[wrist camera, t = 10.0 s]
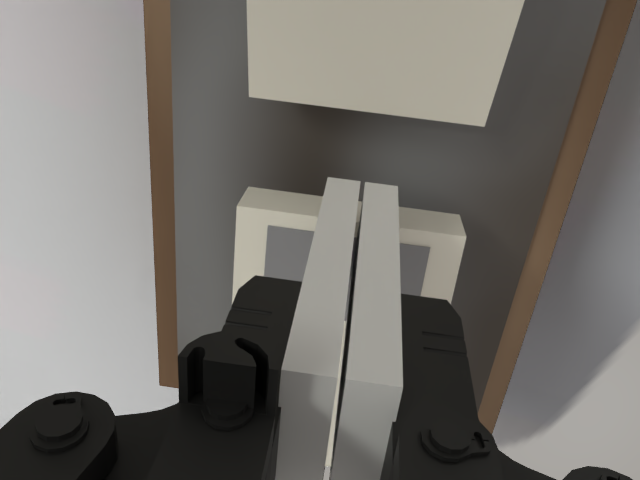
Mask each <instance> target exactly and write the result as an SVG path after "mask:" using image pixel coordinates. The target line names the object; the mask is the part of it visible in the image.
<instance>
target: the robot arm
mask: <svg viewBox="0 0 640 480" xmlns="http://www.w3.org/2000/svg"><path fill="white" fill-rule="evenodd" d="M360 182H361V181H355V180H347V179H339V178H332V177H328V178H327V182H326V186H325V191H324V195H323V199H322V203H321V207H320V211H319V215H318V220H317V224H316V228H315V232H314V236H313V240H312V244H311V248H310V253H309V257H308V261H307V265H306V269H305V273H304V277H303V282H300V281H293V280H286V279H279V278H271V277H264V276H257V275H255V276H254V277H253V278H251V279H250V280H249V281H248V282H246V283H245V284H244V285H243V286H241V287H240V288H239V289H238V291H237V294H236V296H235V299H234V301H233V304H232V306H231V310H230V311H229V313H228V316H227V318H226V321H225V325H224V326H223V328H222V331H219V332H215V333H211V334H207V335H203V336H201V337H199V338H197V339H195V340H194V341H192V342H190V343H188V344H187V345H186V346H185V348H184V349H183V350H182V351H181V353H180V354H179V355H178V382H179V403H177V404H175V405H172V406H170V407H167V408H165V409H162V410H157V411H152V412H147V413H138V414H129V415H120V416H115V415H114V413H113V411H112V409H111V408H110V406H109V404H108V403H107V402H105V401H104V400H102V399H100V398H99V397H97V396H95V395H92V394H87V393H81V392H68V393H59V394H54V395H51V396H48V397H46V398H43V399H40V400H37V401H35V402H34V403H32V404H31V405H29V406H28V407H26V408H25V409H23V410H22V411H20V412H19V413H18V414H16V415H15V416H14V417H13V418H12V419H11V420H10V421H9V422H8V423H7V424H5V425H4V426H3V427H2V428H1V429H0V480H323V476H324V470H325V463H326V456H327V449H328V442H329V435H330V428H331V421H332V414H333V407H334V400H335V393H336V386H337V379H338V371H339V363H340V354H341V345H342V337H343V328H344V319H345V311H346V302H347V294H348V285H349V276H350V268H351V259H352V251H353V242H354V233H355V225H356V216H357V207H358V199H359V190H360ZM329 480H556V479H553V478H551V477H549V476H546V475H544V474H542V473H539V472H537V471H534V470H532V469H530V468H527V467H525V466H523V465H521V464H519V463H517V462H515V461H513V460H512V459H510V458H509V457H508V456H506V455H505V454H504V453H502V452H501V451H499V450H498V448H497V445H496V443H495V441H494V438H493V436H492V434H491V433H490V432H489V431H488V430H487V429H486V428H485V427H484V425H483V424H482V423H481V422H480V421H479V418H478V413H477V407H476V402H475V396H474V390H473V384H472V378H471V373H470V367H469V361H468V357H467V350H466V344H465V341H464V332H463V326H462V321H461V317H460V316H459V315H458V313H457V312H456V311H455V309H454V308H453V307H452V306H451V304H450V303H449V302H448V300H444V299H437V298H430V297H423V296H415V295H408V294H401V283H400V244H399V205H398V186H393V185H386V184H378V183H370V182H365V186H364V193H363V200H362V207H361V214H360V221H359V228H358V235H357V242H356V249H355V256H354V263H353V270H352V276H351V284H350V293H349V303H348V312H347V321H346V330H345V339H344V349H343V358H342V367H341V376H340V385H339V394H338V404H337V413H336V422H335V431H334V440H333V450H332V459H331V468H330V477H329ZM563 480H632V479H631V478H630V477H627V476H625V475H623V474H620V473H618V472H615V471H613V470H610V469H608V468H599V467H591V466H587V467H583V468H579V469H575V470H572V471H571V472H570V473H569V474H568V475H567V476H566V477H565V478H564V479H563Z"/></svg>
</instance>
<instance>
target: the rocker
mask: <svg viewBox="0 0 640 480" xmlns="http://www.w3.org/2000/svg"><path fill="white" fill-rule="evenodd" d="M322 199H323V196H316V195H308V194H301V193H293V192H286V191H278V190H271V189H263V188H256V187H248V188H247V190H246V191H245V193H244V195H243V196H242V198H241V200H240V201H239V203H238V205H237V210H236V231H235V252H234V272H233V293H232V304H233V301H234V299H235V296H236V294H237V291H238V289H239V288H240V287H241V286H243V285H244V284H245V283H246V282H248V281H249V280H250V279H251V278H253V277H254V276H255V275H257V276H264V277H271V278H279V279H286V280H293V281H300V282H303V277H304V273H305V269H306V265H307V261H308V257H309V253H310V248H311V244H312V240H313V236H314V232H315V228H316V224H317V220H318V215H319V211H320V207H321V203H322ZM361 207H362V202H361V201H358V207H357V216H356V225H355V233H354V242H353V251H352V259H351V268H350V276H349V285H348V294H347V302H346V311H345V319H344V328H343V337H342V345H341V354H340V363H339V371H338V379H337V386H336V393H335V400H334V407H333V414H332V421H331V428H330V435H329V442H328V449H327V456H326V463H325V466H328V467H331V459H332V450H333V440H334V431H335V422H336V413H337V404H338V394H339V385H340V376H341V367H342V358H343V349H344V339H345V330H346V321H347V312H348V303H349V293H350V284H351V276H352V270H353V263H354V256H355V249H356V242H357V235H358V228H359V221H360V214H361ZM465 241H466V233H465V230H464V227H463V224H462V221H461V218H460V215H459V214H451V213H444V212H436V211H428V210H421V209H413V208H406V207H399V244H400V283H401V294H408V295H415V296H423V297H430V298H437V299H444V300H448V302H449V303H450V304H451V301H452V297H453V293H454V288H455V284H456V280H457V276H458V271H459V267H460V263H461V258H462V254H463V250H464V246H465Z"/></svg>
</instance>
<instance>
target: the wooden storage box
mask: <svg viewBox="0 0 640 480" xmlns="http://www.w3.org/2000/svg"><path fill="white" fill-rule="evenodd" d="M636 3H637V0H525V1H524V4H523V7H522V10H521V13H520V17H519V20H518V23H517V26H516V29H515V32H514V36H513V39H512V42H511V45H510V48H509V51H508V54H507V58H506V61H505V64H504V67H503V70H502V73H501V76H500V80H499V83H498V86H497V89H496V92H495V95H494V98H493V102H492V105H491V108H490V111H489V114H488V117H487V120H486V124H485V127H482V126H474V125H466V124H458V123H450V122H443V121H435V120H427V119H419V118H411V117H403V116H395V115H387V114H379V113H372V112H364V111H356V110H348V109H340V108H332V107H324V106H316V105H308V104H301V103H293V102H285V101H277V100H269V99H261V98H253V97H249V82H248V40H247V0H143V4H144V28H145V52H146V75H147V99H148V123H149V146H150V170H151V194H152V217H153V241H154V265H155V288H156V312H157V336H158V359H159V383H160V386H167V387H173V388H179V382H178V355H179V354H180V353H181V351H182V350H183V349H184V348H185V346H186V345H187V344H188V343H190V342H192V341H194V340H195V339H197V338H199V337H201V336H203V335H207V334H211V333H215V332H219V331H222V328H223V326H224V325H225V321H226V318H227V316H228V313H229V311H230V310H231V306H232V293H233V272H234V252H235V231H236V210H237V205H238V203H239V201H240V200H241V198H242V196H243V195H244V193H245V191H246V190H247V188H248V187H256V188H263V189H271V190H278V191H286V192H293V193H301V194H308V195H316V196H323V195H324V191H325V186H326V182H327V178H328V177H332V178H339V179H347V180H355V181H361V182H360V190H359V199H358V201H361V202H362V200H363V193H364V186H365V182H370V183H378V184H386V185H393V186H398V205H399V207H406V208H413V209H421V210H428V211H436V212H444V213H451V214H459V215H460V218H461V221H462V224H463V227H464V230H465V233H466V241H465V246H464V250H463V254H462V258H461V263H460V267H459V271H458V276H457V280H456V284H455V288H454V293H453V297H452V301H451V306H452V307H453V308H454V309H455V311H456V312H457V313H458V315H459V316H460V317H461V321H462V326H463V332H464V341H465V344H466V350H467V357H468V361H469V367H470V373H471V378H472V384H473V390H474V396H475V402H476V407H477V413H478V418H479V421H480V422H481V423H482V424H483V425H484V427H485V428H486V429H487V430H488V431H489V432H490V433H491V434H492V433H493V430H494V427H495V424H496V421H497V418H498V415H499V412H500V409H501V406H502V403H503V400H504V397H505V394H506V391H507V388H508V385H509V382H510V379H511V376H512V373H513V370H514V367H515V364H516V361H517V358H518V355H519V352H520V349H521V346H522V343H523V340H524V337H525V334H526V331H527V328H528V325H529V322H530V319H531V316H532V313H533V310H534V307H535V304H536V301H537V298H538V295H539V292H540V289H541V286H542V283H543V280H544V277H545V274H546V271H547V268H548V265H549V262H550V259H551V256H552V253H553V250H554V247H555V244H556V241H557V238H558V235H559V232H560V230H561V227H562V224H563V221H564V218H565V215H566V212H567V209H568V206H569V203H570V200H571V197H572V194H573V191H574V188H575V185H576V182H577V179H578V176H579V173H580V170H581V167H582V164H583V161H584V158H585V155H586V152H587V149H588V146H589V143H590V140H591V137H592V134H593V131H594V128H595V125H596V122H597V119H598V116H599V113H600V110H601V107H602V104H603V101H604V98H605V95H606V92H607V89H608V86H609V83H610V80H611V77H612V74H613V71H614V68H615V65H616V62H617V59H618V56H619V53H620V50H621V47H622V44H623V41H624V38H625V35H626V32H627V29H628V26H629V24H630V21H631V18H632V15H633V12H634V9H635V6H636Z"/></svg>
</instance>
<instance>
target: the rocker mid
mask: <svg viewBox="0 0 640 480" xmlns="http://www.w3.org/2000/svg"><path fill="white" fill-rule="evenodd" d="M524 1H525V0H247V40H248V82H249V97H253V98H261V99H269V100H277V101H285V102H293V103H301V104H308V105H316V106H324V107H332V108H340V109H348V110H356V111H364V112H372V113H379V114H387V115H395V116H403V117H411V118H419V119H427V120H435V121H443V122H450V123H458V124H466V125H474V126H482V127H485V124H486V120H487V117H488V114H489V111H490V108H491V105H492V102H493V98H494V95H495V92H496V89H497V86H498V83H499V80H500V76H501V73H502V70H503V67H504V64H505V61H506V58H507V54H508V51H509V48H510V45H511V42H512V39H513V36H514V32H515V29H516V26H517V23H518V20H519V17H520V13H521V10H522V7H523V4H524Z"/></svg>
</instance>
